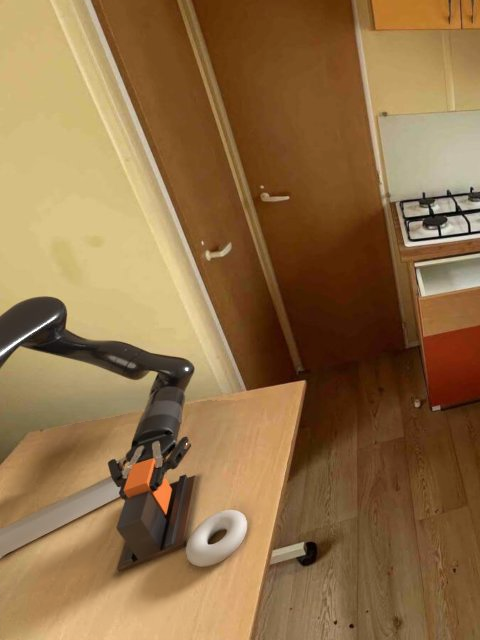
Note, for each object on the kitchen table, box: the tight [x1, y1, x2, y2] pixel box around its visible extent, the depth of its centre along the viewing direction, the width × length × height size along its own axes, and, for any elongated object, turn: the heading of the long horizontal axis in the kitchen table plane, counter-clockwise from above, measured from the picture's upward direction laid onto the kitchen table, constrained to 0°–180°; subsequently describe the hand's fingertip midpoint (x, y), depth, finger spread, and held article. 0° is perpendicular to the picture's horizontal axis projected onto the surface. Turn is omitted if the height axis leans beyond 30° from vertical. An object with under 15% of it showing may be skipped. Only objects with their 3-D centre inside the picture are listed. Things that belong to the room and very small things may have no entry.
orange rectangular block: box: [123, 458, 172, 515], centre depth 83 cm, size 4×6×10 cm, turn 27°
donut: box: [185, 509, 248, 568], centre depth 81 cm, size 10×4×10 cm
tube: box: [0, 467, 128, 559], centre depth 87 cm, size 5×5×25 cm
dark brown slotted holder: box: [115, 473, 198, 574], centre depth 83 cm, size 10×16×11 cm, turn 27°
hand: (139, 492), depth 80 cm, fingers closed on orange rectangular block, 3 cm apart
